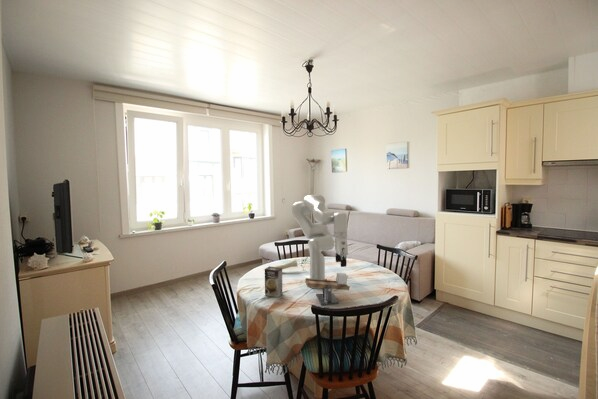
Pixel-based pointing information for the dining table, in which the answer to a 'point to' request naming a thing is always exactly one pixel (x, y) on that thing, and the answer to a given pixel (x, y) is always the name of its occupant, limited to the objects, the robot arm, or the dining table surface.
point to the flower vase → (291, 264)
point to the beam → (325, 284)
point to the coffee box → (273, 281)
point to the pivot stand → (327, 296)
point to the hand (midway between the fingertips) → (340, 264)
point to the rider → (341, 279)
